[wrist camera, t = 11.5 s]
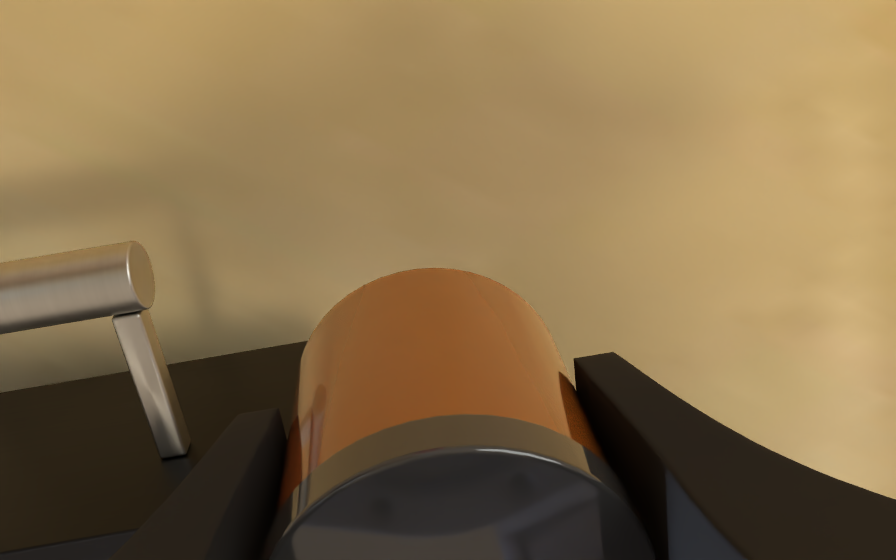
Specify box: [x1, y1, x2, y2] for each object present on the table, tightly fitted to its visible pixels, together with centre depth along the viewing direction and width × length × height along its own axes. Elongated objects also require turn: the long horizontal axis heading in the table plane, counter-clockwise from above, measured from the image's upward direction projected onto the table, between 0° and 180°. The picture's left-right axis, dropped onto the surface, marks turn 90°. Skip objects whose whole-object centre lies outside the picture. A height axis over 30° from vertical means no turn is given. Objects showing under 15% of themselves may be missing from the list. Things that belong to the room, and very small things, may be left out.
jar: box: [261, 268, 658, 560], centre depth 11 cm, size 5×5×5 cm
